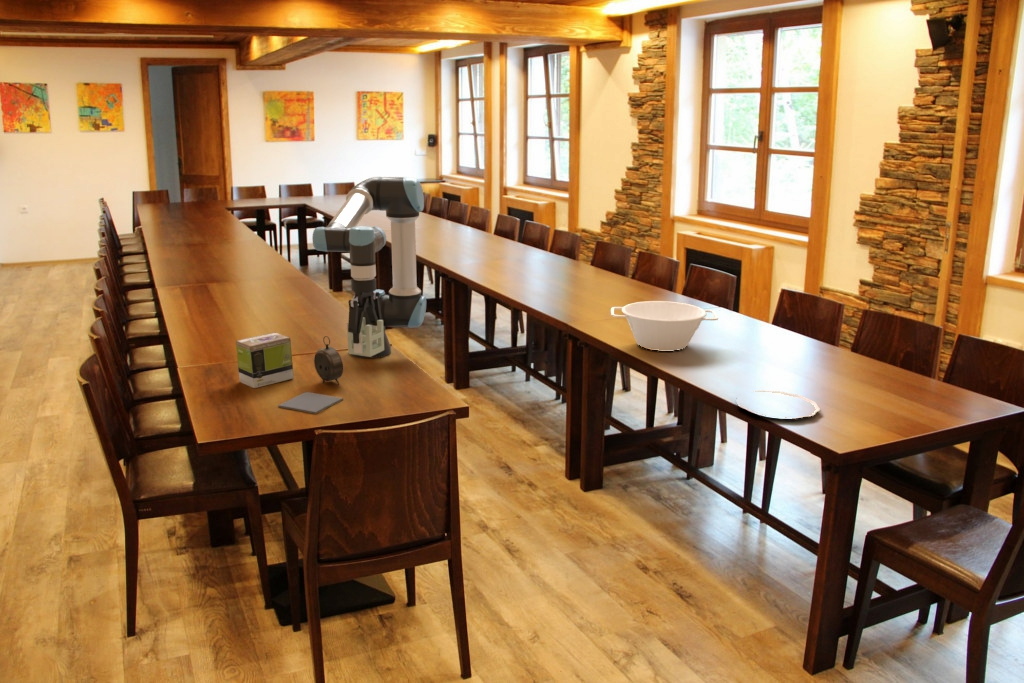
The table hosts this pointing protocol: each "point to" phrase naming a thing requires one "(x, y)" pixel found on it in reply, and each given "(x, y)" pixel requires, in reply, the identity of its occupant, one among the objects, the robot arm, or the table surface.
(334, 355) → the alarm clock
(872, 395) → the table surface
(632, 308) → the pot
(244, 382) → the tea box
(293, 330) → the table surface
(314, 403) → the mat
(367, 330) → the stool
